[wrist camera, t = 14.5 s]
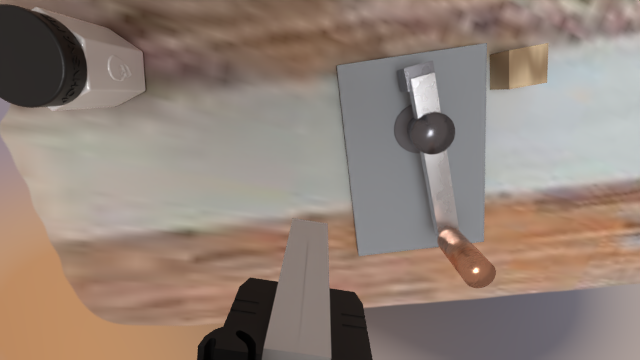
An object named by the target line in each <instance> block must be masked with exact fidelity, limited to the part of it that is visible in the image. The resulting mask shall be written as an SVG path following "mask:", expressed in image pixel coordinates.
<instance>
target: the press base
mask: <svg viewBox="0 0 640 360" xmlns="http://www.w3.org/2000/svg"><path fill="white" fill-rule="evenodd" d="M432 60H433V64H434V70H435V77H436V83H437V91H438V97H439V104H440V110H441V113H442V114H445V115H447V116H448V117H449V118H450V119H451V120H452V121H453V123H454V126H455V137H454V140H453V142H452V144H451V145H450V146H449V147H448V148H447V155H448V161H449V168H450V174H451V181H452V187H453V193H454V200H455V206H456V213H457V219H458V225H459V231H460V232H461V233H462V234H463V235H464V236H465V237H466V238H467V239H468V240H469V241H470V242H471V243H476V242H484V194H485V128H486V63H487V43H484V44H478V45H471V46H464V47H457V48H451V49H444V50H437V51H430V52H424V53H417V54H410V55H404V56H397V57H390V58H383V59H377V60H370V61H363V62H356V63H350V64H343V65H337V66H336V67H337V76H338V84H339V93H340V102H341V110H342V119H343V128H344V136H345V145H346V153H347V162H348V171H349V179H350V188H351V197H352V205H353V214H354V223H355V231H356V240H357V249H358V254H359V256H363V255H372V254H380V253H389V252H398V251H406V250H415V249H424V248H432V247H439V246H438V243H437V240H438V239H437V238H436V236H435V231H434V225H433V220H432V214H431V209H430V203H429V198H428V192H427V187H426V181H425V176H424V170H423V165H422V159H421V154H420V150H418V149H416V148H415V147H414V146H413V145H412V144H411V143H410V141H409V138H408V128H409V125H410V123H411V121H412V120H413V119H414V115H413V109H412V104H411V98H410V93H409V92H401V91H400V85H399V80H398V75H397V70H400V69H404V68H407V67H411V66H414V65H418V64H421V63H425V62H428V61H432Z"/></svg>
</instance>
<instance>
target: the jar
mask: <svg viewBox="0 0 640 360" xmlns="http://www.w3.org/2000/svg"><path fill="white" fill-rule="evenodd" d="M145 90H146V89H145V76H144V62H143V52H142V51H141V50H140V49H138V48H137V47H135V46H134V45H132V44H131V43H129V42H128V41H126V40H125V39H123V38H122V37H120V36H119V35H117V34H116V33H114V32H113V31H112V30H110V29H109V28H106V27H102V26H99V25H96V24H92V23H89V22H85V21H82V20H79V19H75V18H72V17H69V16H65V15H62V14H59V13H55V12H52V11H48V10H45V9H42V8H38V7H35V8H33V9H32V10H29V9H26V8H22V7H19V6H15V5H7V4H1V5H0V98H2V99H4V100H5V101H7V102H9V103H12V104H14V105H17V106H22V107H30V108H34V107H47V108H49V109H51V110H53V111H58V110H73V109H87V108H102V107H116V106H118V105H120V104H122V103H124V102H126V101H128V100H129V99H131V98H133V97H135V96H137V95H139V94H141V93H143V92H145Z"/></svg>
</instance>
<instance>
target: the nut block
mask: <svg viewBox="0 0 640 360" xmlns="http://www.w3.org/2000/svg"><path fill="white" fill-rule="evenodd" d="M547 65H548V43H546V44H541V45H535V46H530V47H525V48H519V49H514V50H508V51H504V52H500V53H495V54H491V55H490V90H491V89H513V88H519V87H524V86H530V85H536V84H541V83H547Z"/></svg>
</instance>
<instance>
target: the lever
mask: <svg viewBox="0 0 640 360" xmlns="http://www.w3.org/2000/svg"><path fill="white" fill-rule="evenodd" d="M397 75H398V80H399V85H400V91H401V92H409V93H410V98H411V104H412V109H413V115H414V119H413V120H412V121H411V123H410V125H409V128H408V138H409V141H410V143H411V144H412V145H413V146H414V147H415V148H416V149H418V150H420V154H421V159H422V165H423V170H424V176H425V181H426V187H427V192H428V198H429V203H430V209H431V214H432V220H433V225H434V231H435V236H436V238H437V239H438V240H437V243H438V246H439V247H440V249H441V250H442V251H443V253H444V254H445V255H446V257H447V258H448V259H449V261H450V262H451V263H452V265H453V266H454V267H455V269H456V270H457V271H458V273H459V274H460V275H461V277H462V278H463V280H464V281H465V282H466V283H467V284H468V285H469V286H471V287H473V288H482V287H485V286H487V285H489V284H490V283H491V282H492V281H493V280H494V278H495V275H496V271H495V268H494V266H493V265H492V264H491V263H490V262H489V261H488V260H487V259H486V258H485V257H484V256H483V254H482V253H481V252H480V251H479V250H478V249H477V248H476V247H475V246H474V245H473V244H472V243H471V242H470V241H469V240H468V239H467V238H466V237H465V236H464V235H463V234H462V233H461V232H460V231H459V225H458V219H457V213H456V206H455V200H454V193H453V187H452V181H451V174H450V168H449V161H448V155H447V148H448V147H449V146H450V145H451V144H452V142H453V140H454V137H455V126H454V123H453V121H452V120H451V119H450V118H449V117H448V116H447V115H445V114H442V113H441V110H440V104H439V97H438V91H437V83H436V77H435V70H434V64H433V60H432V61H428V62H425V63H421V64H418V65H414V66H411V67H407V68H404V69H400V70H397Z"/></svg>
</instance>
